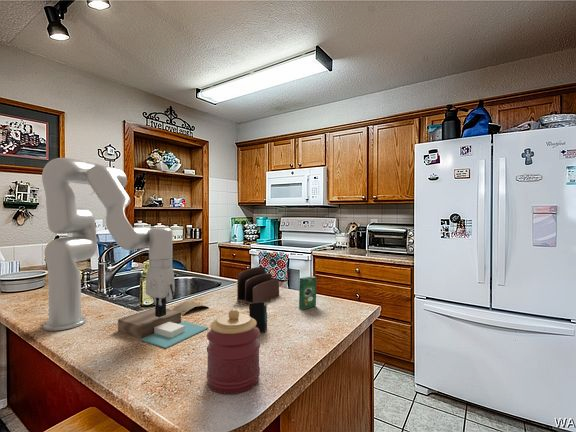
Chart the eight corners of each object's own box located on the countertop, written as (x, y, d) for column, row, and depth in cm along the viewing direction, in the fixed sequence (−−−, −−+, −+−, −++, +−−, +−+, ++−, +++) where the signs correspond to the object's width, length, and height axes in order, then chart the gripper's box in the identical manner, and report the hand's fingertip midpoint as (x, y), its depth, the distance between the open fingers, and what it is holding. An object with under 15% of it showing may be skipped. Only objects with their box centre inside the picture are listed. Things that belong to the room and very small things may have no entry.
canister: (195, 388, 72) (195, 314, 72) (225, 362, 85) (225, 299, 84) (243, 401, 68) (244, 322, 67) (268, 371, 80) (268, 304, 80)
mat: (140, 340, 98) (140, 339, 98) (184, 322, 114) (184, 321, 114) (165, 348, 93) (165, 347, 93) (208, 328, 108) (208, 327, 108)
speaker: (266, 334, 103) (265, 302, 104) (249, 334, 103) (248, 303, 104) (268, 327, 111) (267, 298, 112) (252, 328, 111) (251, 299, 112)
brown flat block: (118, 330, 106) (117, 319, 106) (157, 316, 120) (157, 306, 120) (142, 338, 100) (142, 326, 99) (181, 322, 114) (181, 312, 113)
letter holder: (236, 301, 141) (236, 271, 140) (263, 292, 157) (263, 264, 157) (253, 305, 135) (253, 273, 135) (279, 295, 151) (279, 266, 151)
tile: (154, 333, 103) (154, 327, 103) (168, 327, 108) (168, 321, 108) (171, 338, 99) (171, 331, 99) (185, 331, 105) (185, 325, 105)
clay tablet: (181, 317, 121) (181, 311, 121) (168, 312, 127) (168, 305, 127) (211, 308, 132) (211, 302, 132) (198, 303, 138) (198, 297, 138)
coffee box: (312, 304, 136) (312, 275, 136) (316, 306, 134) (317, 276, 134) (298, 308, 131) (298, 278, 131) (303, 310, 129) (303, 279, 129)
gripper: (137, 262, 107) (137, 315, 107) (166, 267, 99) (166, 323, 100) (156, 259, 113) (155, 309, 114) (184, 264, 106) (184, 316, 106)
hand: (160, 315), depth 107 cm, fingers closed
